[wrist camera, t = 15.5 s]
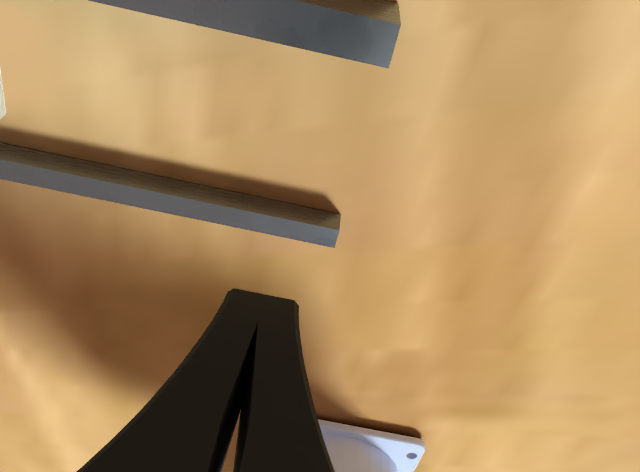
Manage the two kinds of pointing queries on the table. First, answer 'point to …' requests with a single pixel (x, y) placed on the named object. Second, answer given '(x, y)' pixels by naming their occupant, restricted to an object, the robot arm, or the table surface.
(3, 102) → the block
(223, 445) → the robot arm
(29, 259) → the table surface
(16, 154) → the rail
